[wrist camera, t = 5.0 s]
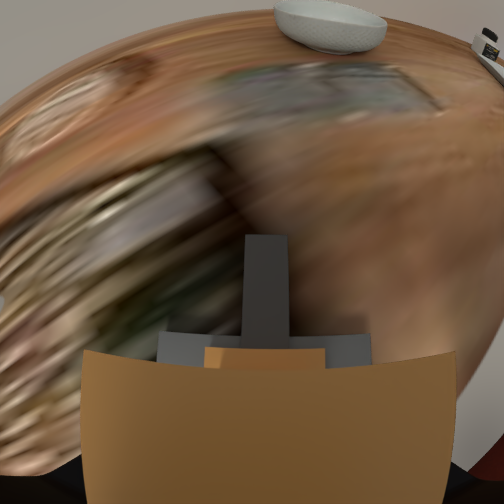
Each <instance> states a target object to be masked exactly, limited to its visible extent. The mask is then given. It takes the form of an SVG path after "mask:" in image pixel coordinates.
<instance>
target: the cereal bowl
mask: <svg viewBox="0 0 504 504" xmlns="http://www.w3.org/2000/svg"><path fill="white" fill-rule="evenodd" d="M274 15H275V20H276V23H277V25H278V27H279V28H280V30H281V31H282V32H283V33H284V34H285V35H287V36H288V37H290V38H292V39H293V40H295V41H298V42H300V43H303V44H305V45H306V46H307V47H309V48H311V49H313V50H316V51H320V52H324V53H329V54H336V55H346V54H350V53H352V52H361V51H367V50H370V49H373V48H375V47H376V46H378V45H379V44H380V43H381V42H382V40H383V39H384V36H385V34H386V30H387V22H386V21H385V20H384V19H382V18H381V17H379V16H377V15H374V14H373V13H370V12H368V11H365V10H362V9H359V8H356V7H353V6H349V5H345V4H341V3H336V2H330V1H323V0H284V1H280V2H277V3H276V4H275V5H274Z"/></svg>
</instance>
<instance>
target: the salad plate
mask: <svg viewBox="0 0 504 504" xmlns="http://www.w3.org/2000/svg"><path fill="white" fill-rule="evenodd" d="M476 54H477V56H478V58H479V60H480V61H481V63H482V64H483V65H484V66H485V67H486V69H487V70H488V71H489V72H490V73H491V74H492V75H493V76H494V77H495V78H496V79H497V80H498V81H499V82H500V83H501V84H502V85H503V86H504V67H502V66H501V65H499V64H497V63H496V62H494V61H492V60H490V59H488V58H487V57H485V56H483V55H481V54H479V53H477V52H476Z"/></svg>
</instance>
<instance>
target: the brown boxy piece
mask: <svg viewBox="0 0 504 504" xmlns="http://www.w3.org/2000/svg"><path fill="white" fill-rule="evenodd" d="M455 418H456V356H455V351H453V352H449V353H444V354H439V355H434V356H429V357H423V358H418V359H412V360H405V361H399V362H391V363H384V364H376V365H366V366H356V367H345V368H330V369H325V348H316V349H289V274H288V239H287V235H245V257H244V281H243V306H242V333H241V349H239V348H217V347H205V356H204V367H194V366H184V365H174V364H166V363H158V362H151V361H144V360H137V359H131V358H125V357H119V356H114V355H109V354H104V353H99V352H94V351H89V350H85V349H84V355H83V366H82V380H81V406H80V427H81V452H82V465H83V475H84V483H85V491H86V497H87V503H88V504H442V502H443V498H444V494H445V489H446V485H447V480H448V475H449V469H450V463H451V457H452V449H453V440H454V431H455Z"/></svg>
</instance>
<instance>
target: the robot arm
mask: <svg viewBox="0 0 504 504" xmlns="http://www.w3.org/2000/svg"><path fill="white" fill-rule="evenodd" d="M0 504H88V503H87V497H86V491H85V483H84V475H83V465H82V454H81V455H79V456H77V457H76V458H74V459H72V460H71V461H69V462H67V463H66V464H64V465H62V466H60V467H59V468H57V469H55V470H53V471H51V472H49V473H47V474H44V475H40V476H4V475H0ZM442 504H504V481H494V480H483V479H480V478H477V477H475V476H473V475H471V474H469V473H468V472H466V471H465V470H463V469H462V468H460V467H459V466H457V465H456V464H454V463H453V462H451V463H450V469H449V475H448V480H447V485H446V489H445V494H444V498H443V502H442Z"/></svg>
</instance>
